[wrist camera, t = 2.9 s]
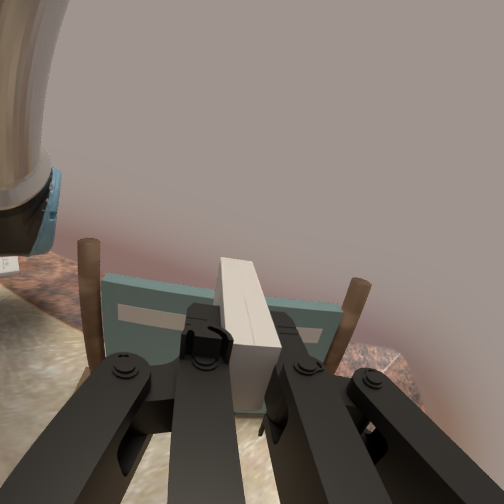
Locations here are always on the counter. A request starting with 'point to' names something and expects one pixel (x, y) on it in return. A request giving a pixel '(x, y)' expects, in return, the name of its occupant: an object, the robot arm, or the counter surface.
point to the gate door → (174, 314)
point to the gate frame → (93, 316)
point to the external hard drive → (9, 266)
